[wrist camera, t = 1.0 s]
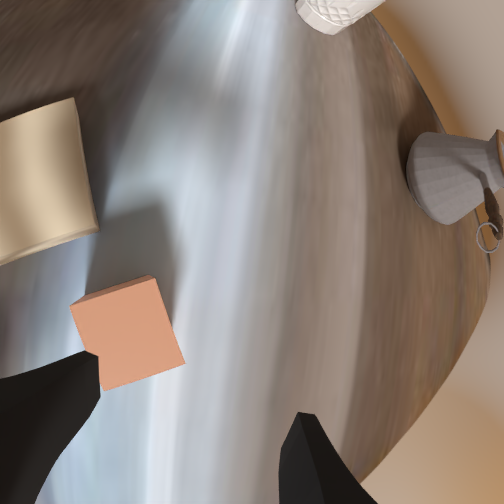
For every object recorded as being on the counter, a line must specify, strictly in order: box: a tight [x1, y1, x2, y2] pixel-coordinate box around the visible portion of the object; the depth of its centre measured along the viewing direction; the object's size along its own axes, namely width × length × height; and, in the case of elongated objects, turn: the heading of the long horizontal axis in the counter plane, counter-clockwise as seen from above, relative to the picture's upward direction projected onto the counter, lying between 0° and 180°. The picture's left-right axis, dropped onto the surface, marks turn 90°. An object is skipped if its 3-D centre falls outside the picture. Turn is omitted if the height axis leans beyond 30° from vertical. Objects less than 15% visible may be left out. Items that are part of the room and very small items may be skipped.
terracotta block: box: [69, 275, 185, 391], centre depth 18 cm, size 5×5×6 cm
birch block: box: [0, 97, 100, 265], centre depth 16 cm, size 12×9×4 cm
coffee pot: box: [406, 130, 504, 253], centre depth 25 cm, size 21×12×15 cm, turn 125°
